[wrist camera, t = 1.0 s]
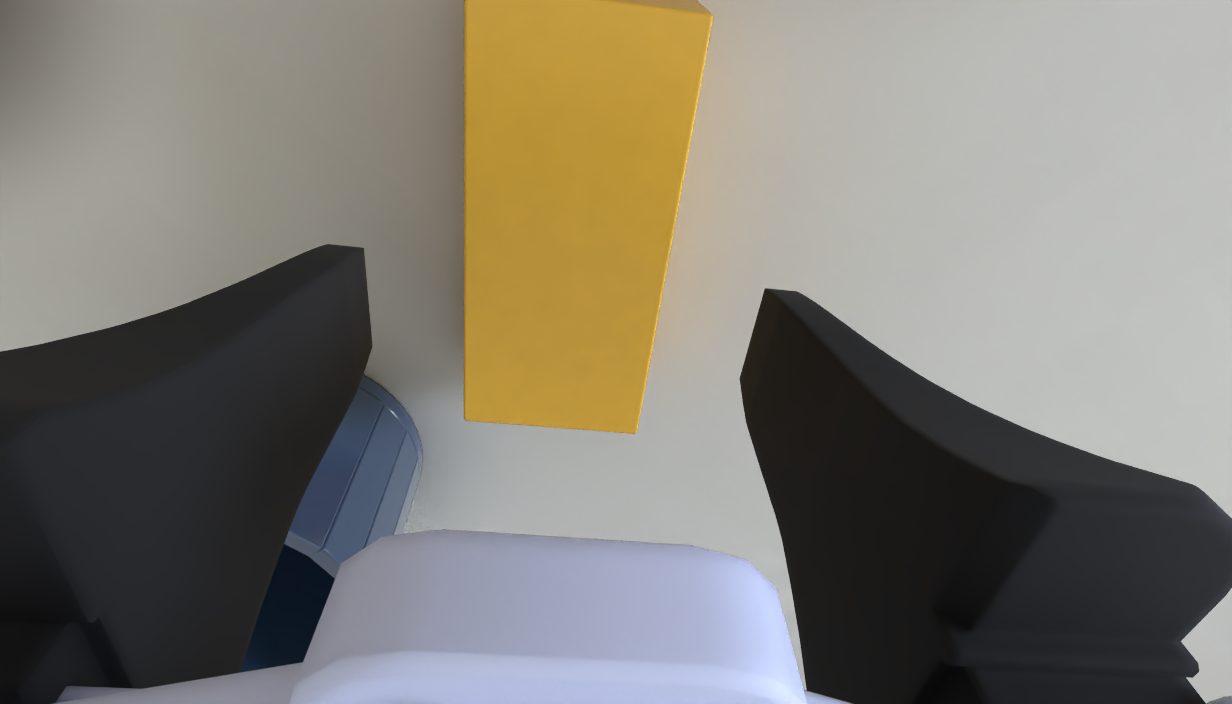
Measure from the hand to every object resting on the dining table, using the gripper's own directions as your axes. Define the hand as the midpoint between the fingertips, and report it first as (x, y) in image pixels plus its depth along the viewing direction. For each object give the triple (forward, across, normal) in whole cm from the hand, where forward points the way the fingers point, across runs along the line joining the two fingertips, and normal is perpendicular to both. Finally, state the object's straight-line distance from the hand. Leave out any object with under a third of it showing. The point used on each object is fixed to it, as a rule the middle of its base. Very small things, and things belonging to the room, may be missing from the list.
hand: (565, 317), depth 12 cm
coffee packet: (+6, 0, 0) cm, 6 cm away
